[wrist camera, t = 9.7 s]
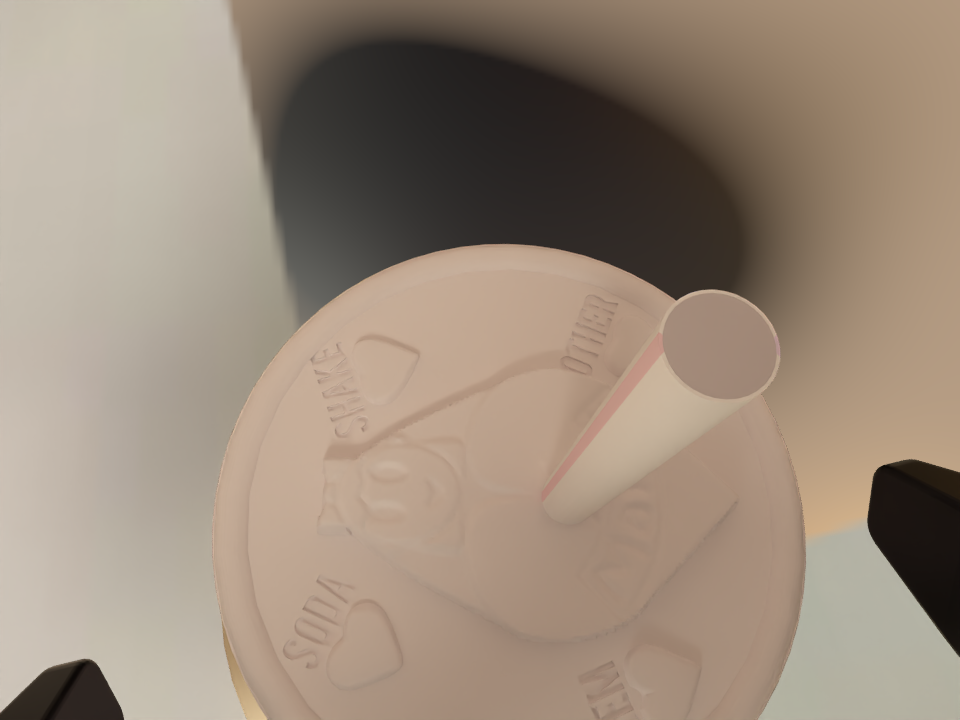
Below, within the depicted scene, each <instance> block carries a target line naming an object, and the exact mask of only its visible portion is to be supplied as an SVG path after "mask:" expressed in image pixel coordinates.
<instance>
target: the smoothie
mask: <svg viewBox="0 0 960 720" xmlns="http://www.w3.org/2000/svg"><path fill="white" fill-rule="evenodd" d="M780 358H781V355H780V344H779V341H778V337H777V334H776V332H775V330H774V328H773V326H772V324H771V323H770V321H769V320H768V318H767V317H766V316H765V315H764V313H763V312H762V311H760V310H759V309H758V308H757V307H756V306H755V305H754V304H752V303H751V302H749V301H748V300H746V299H744V298H742V297H740V296H738V295H736V294H733V293H730V292H726V291H721V290H700V291H696V292H693V293H690V294H687V295H685V296H683V297H681V298H680V299H679V300H677V301H676V300H675V299H673V298H672V297H670V296H669V295H667V294H665V293H664V292H662V291H661V290H659V289H658V288H656V287H655V286H653V285H651V284H649V283H648V282H645V281H644V280H642V279H640V278H638V277H636V276H634V275H633V274H631V273H628V272H626V271H624V270H622V269H619V268H617V267H614V266H612V265H610V264H607V263H605V262H601V261H599V260H596V259H593V258H590V257H587V256H584V255H580V254H575V253H571V252H567V251H563V250H558V249H552V248H546V247H539V246H531V245H530V246H529V245H516V244H489V245H488V244H486V245H475V246H466V247H458V248H453V249H448V250H443V251H438V252H433V253H430V254H427V255H423V256H419V257H416V258H413V259H410V260H407V261H404V262H402V263H399V264H397V265H394V266H391V267H389V268H387V269H384V270H383V271H380V272H378V273H376V274H374V275H372V276H370V277H368V278H366V279H364V280H363V281H361V282H359V283H358V284H356V285H354V286H353V287H351V288H349V289H348V290H346V291H344V292H343V293H341V294H340V295H339V296H337V297H336V298H335V299H333V300H332V301H331V302H329V303H328V304H326V305H325V306H324V307H322V308H321V309H320V310H319V311H318V312H317V313H316V314H315V315H313V316H312V317H311V318H310V319H309V320H308V321H307V322H305V323H304V324H303V325H302V326H301V327H300V328H299V329H298V330H297V331H296V332H295V334H294V335H293V336H292V337H291V338H290V339H289V340H288V341H287V342H286V343H285V344H284V345H283V347H282V348H281V349H280V351H279V352H278V353H277V354H276V356H275V357H274V358H273V359H272V361H271V362H270V363H269V365H268V366H267V367H266V369H265V371H264V372H263V374H262V375H261V377H260V378H259V380H258V381H257V383H256V384H255V386H254V388H253V389H252V391H251V393H250V395H249V397H248V399H247V401H246V403H245V405H244V407H243V409H242V410H241V412H240V415H239V417H238V420H237V422H236V424H235V427H234V429H233V432H232V434H231V437H230V439H229V442H228V446H227V449H226V453H225V456H224V459H223V463H222V466H221V470H220V475H219V480H218V485H217V491H216V496H215V505H214V515H213V526H212V558H213V568H214V578H215V588H216V593H217V598H218V603H219V608H220V613H221V618H222V621H223V625H224V628H225V631H226V634H227V637H228V641H229V644H230V647H231V650H232V652H233V655H234V657H235V659H236V662H237V664H238V667H239V669H240V671H241V674H242V676H243V678H244V680H245V682H246V684H247V686H248V688H249V689H250V691H251V693H252V695H253V697H254V698H255V700H256V702H257V704H258V706H259V707H260V709H261V710H262V712H263V713H264V715H265V716H266V718H267V719H268V720H757V719H758V718H759V716H760V715H761V713H762V712H763V710H764V708H765V707H766V705H767V703H768V701H769V699H770V697H771V695H772V693H773V691H774V689H775V687H776V685H777V684H778V682H779V679H780V677H781V674H782V671H783V669H784V666H785V664H786V661H787V659H788V656H789V654H790V651H791V647H792V644H793V640H794V636H795V633H796V629H797V626H798V622H799V616H800V610H801V605H802V599H803V593H804V580H805V567H806V548H805V527H804V520H803V510H802V503H801V498H800V494H799V488H798V484H797V479H796V475H795V472H794V468H793V465H792V462H791V459H790V455H789V452H788V449H787V446H786V444H785V441H784V439H783V437H782V434H781V432H780V430H779V427H778V425H777V422H776V420H775V418H774V416H773V415H772V413H771V411H770V409H769V407H768V405H767V403H766V401H765V399H764V397H763V396H762V394H761V393H762V392H763V391H764V390H765V389H766V388H768V387H769V385H770V384H771V383H772V381H773V380H774V378H775V376H776V374H777V371H778V369H779V364H780Z"/></svg>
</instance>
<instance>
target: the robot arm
mask: <svg viewBox="0 0 960 720" xmlns="http://www.w3.org/2000/svg"><path fill="white" fill-rule="evenodd" d="M867 523H868V529H869V532H870V535H871V537H872V539H873V540H874V542H875V544H876V545H877V546H878V548H879V549H880V551H881V552H882V553H883V555H884V556H885V557H886V559H887V560H888V561H889V563H890V564H891V566H892V567H893V568H894V570H895V571H896V572H897V574H898V575H899V577H900V578H901V579H902V581H903V582H904V583H905V585H906V586H907V587H908V589H909V590H910V592H911V593H912V594H913V596H914V597H915V598H916V600H917V601H918V603H919V604H920V605H921V607H922V608H923V609H924V611H925V612H926V613H927V615H928V616H929V618H930V619H931V620H932V622H933V623H934V624H935V626H936V627H937V629H938V630H939V631H940V633H941V634H942V635H943V637H944V638H945V639H946V640H947V642H948V643H949V644H950V646H951V647H952V648H953V650H954V651H955V652H956V653H957V655H958V656H959V657H960V472H956V471H953V470H949V469H946V468H942V467H939V466H936V465H932V464H929V463H926V462H922V461H919V460H912V459H911V460H910V459H909V460H903V461H899V462H895V463H891V464H887V465H883V466H881V467H879V468H878V469H877V470H876V472H875V473H874V476H873V482H872V489H871V496H870V503H869V511H868V518H867ZM0 720H124V717H123V713H122V710H121V707H120V705H119V703H118V701H117V700H116V698H115V696H114V694H113V692H112V690H111V688H110V687H109V685H108V683H107V681H106V679H105V677H104V675H103V674H102V672H101V670H100V668H99V667H98V665H97V664H96V663H95V662H94V661H92V660H90V659H81V660H77V661H73V662H68V663H64V664H60V665H56V666H53V667H50V668H48V669H46V670H45V671H44V672H42V673H41V674H40V675H39V676H38V677H37V678H36V679H35V680H34V681H33V682H32V683H31V684H30V685H29V686H28V687H26V688H25V689H24V690H23V691H22V692H21V693H20V694H19V695H18V696H17V697H16V698H15V699H14V700H13V701H12V702H11V703H10V704H9V705H8V706H7V707H6V708H5V709H4V710H3V711H2V712H1V713H0Z"/></svg>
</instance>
